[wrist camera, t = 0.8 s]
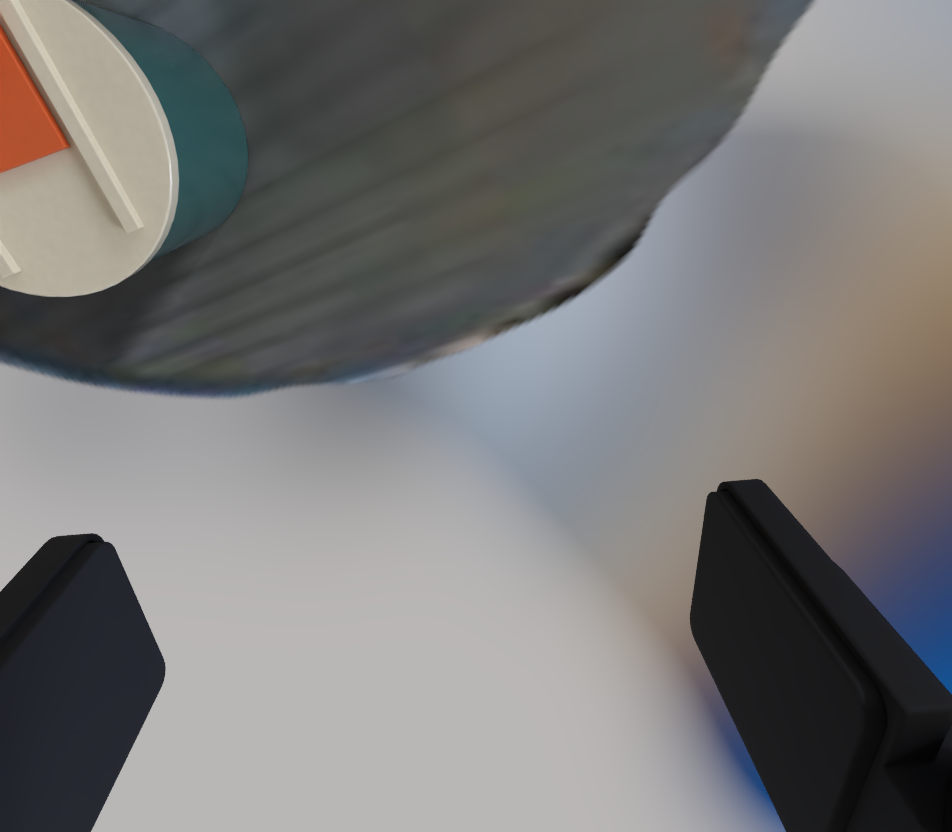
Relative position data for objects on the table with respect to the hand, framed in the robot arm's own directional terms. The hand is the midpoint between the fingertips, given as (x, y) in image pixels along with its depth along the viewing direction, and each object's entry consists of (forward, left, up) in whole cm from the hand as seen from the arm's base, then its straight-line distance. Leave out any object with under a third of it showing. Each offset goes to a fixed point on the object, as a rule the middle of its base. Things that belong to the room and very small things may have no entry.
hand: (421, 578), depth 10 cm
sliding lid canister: (-10, -13, -29) cm, 33 cm away
